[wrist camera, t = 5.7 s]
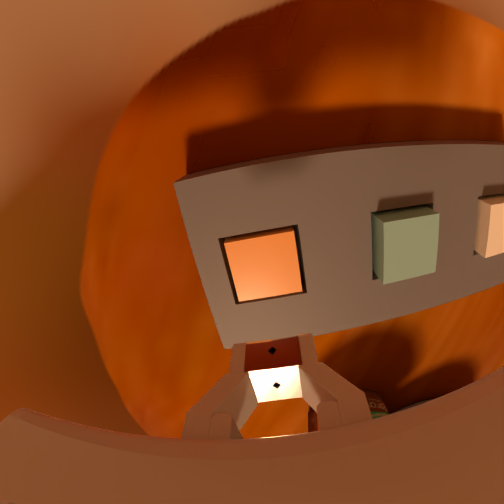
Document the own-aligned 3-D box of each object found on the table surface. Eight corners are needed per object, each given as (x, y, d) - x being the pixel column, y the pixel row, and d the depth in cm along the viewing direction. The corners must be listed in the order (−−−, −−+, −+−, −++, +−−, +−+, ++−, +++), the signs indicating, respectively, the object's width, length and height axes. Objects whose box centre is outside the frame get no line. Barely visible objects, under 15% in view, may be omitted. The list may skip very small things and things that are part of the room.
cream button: (505, 193, 15) (520, 200, 13) (500, 240, 16) (514, 248, 15) (474, 197, 15) (490, 205, 13) (471, 247, 17) (485, 258, 15)
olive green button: (424, 204, 16) (439, 213, 14) (422, 259, 17) (435, 272, 16) (371, 213, 16) (383, 222, 14) (372, 270, 18) (383, 284, 16)
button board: (500, 141, 15) (523, 146, 12) (492, 265, 20) (509, 279, 17) (186, 174, 18) (173, 182, 15) (227, 323, 22) (224, 348, 20)
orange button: (290, 220, 17) (293, 231, 16) (298, 276, 19) (302, 291, 17) (227, 232, 18) (223, 243, 16) (240, 286, 19) (239, 301, 18)
